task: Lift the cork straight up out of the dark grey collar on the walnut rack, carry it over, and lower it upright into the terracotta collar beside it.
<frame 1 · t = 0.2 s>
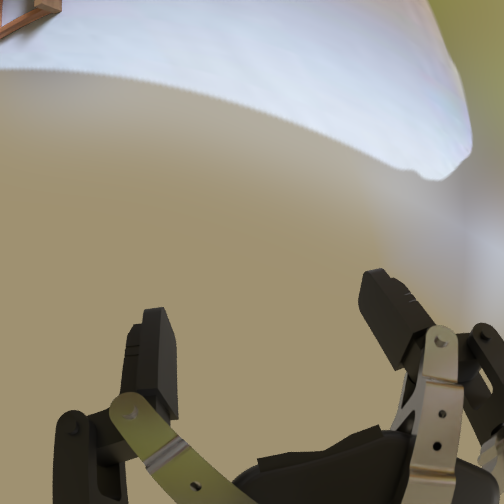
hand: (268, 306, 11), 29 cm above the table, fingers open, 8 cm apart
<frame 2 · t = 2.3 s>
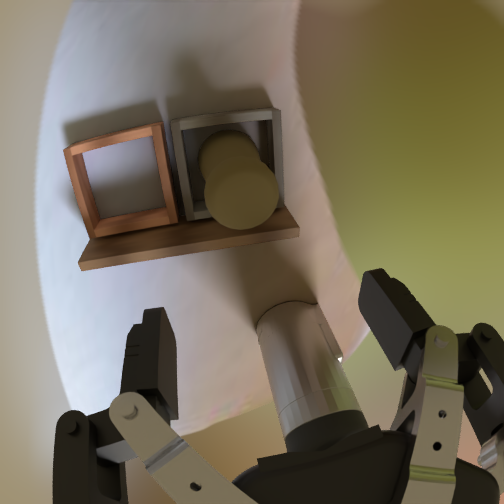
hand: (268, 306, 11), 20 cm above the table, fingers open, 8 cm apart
cork: (228, 158, 28), resting in shaker rack
shaker rack: (175, 167, 28), on the table
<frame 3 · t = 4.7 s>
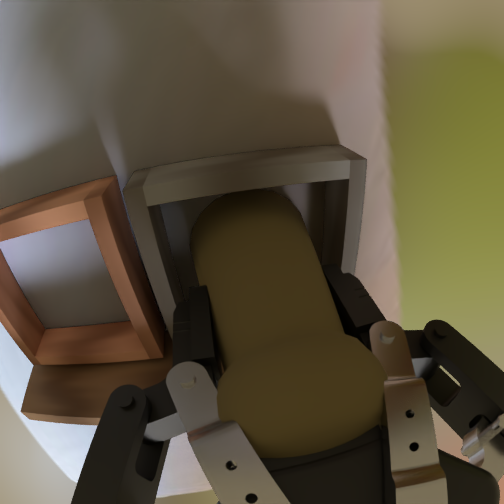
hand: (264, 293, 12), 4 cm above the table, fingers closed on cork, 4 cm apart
cork: (248, 242, 15), resting in shaker rack, touching gripper
shaker rack: (149, 261, 15), on the table
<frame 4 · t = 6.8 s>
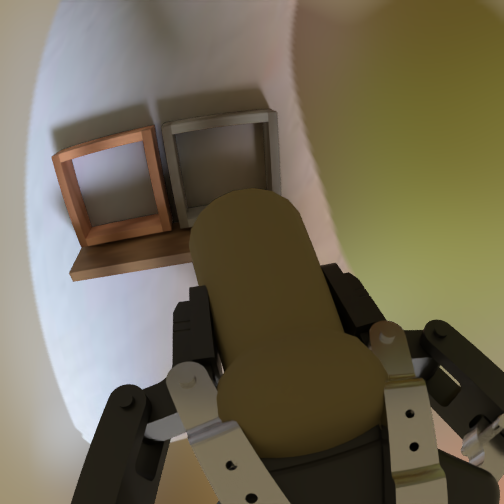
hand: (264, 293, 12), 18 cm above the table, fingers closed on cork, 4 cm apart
cork: (247, 241, 15), point 14 cm above the table, touching gripper
shaker rack: (167, 172, 26), on the table
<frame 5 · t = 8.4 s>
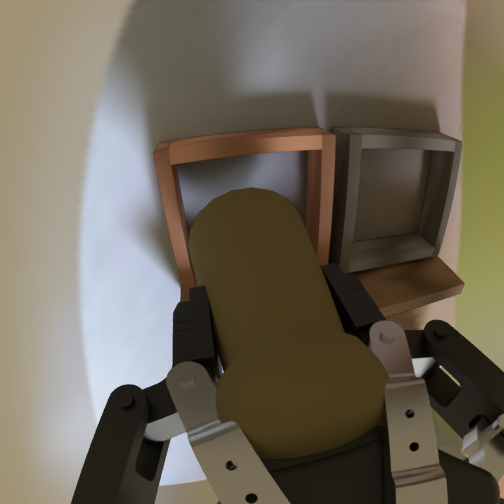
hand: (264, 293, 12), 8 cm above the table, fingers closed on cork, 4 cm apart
cork: (247, 241, 15), point 4 cm above the table, touching gripper
shaker rack: (323, 196, 20), on the table
when the fingers open (5 cm above the table, at t = 9.4 s): cork stays where it is, resting in shaker rack.
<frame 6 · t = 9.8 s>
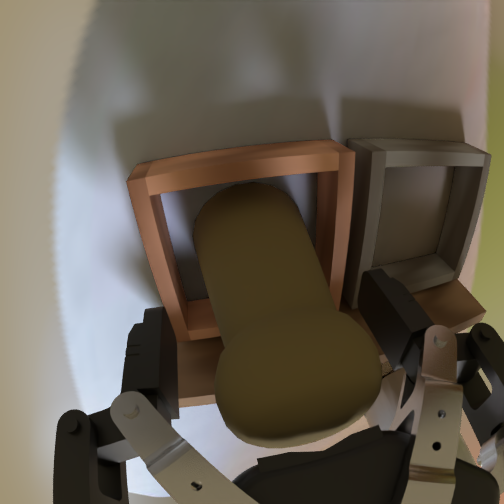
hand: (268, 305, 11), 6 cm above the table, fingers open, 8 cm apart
cork: (248, 233, 16), resting in shaker rack
shaker rack: (336, 221, 17), on the table
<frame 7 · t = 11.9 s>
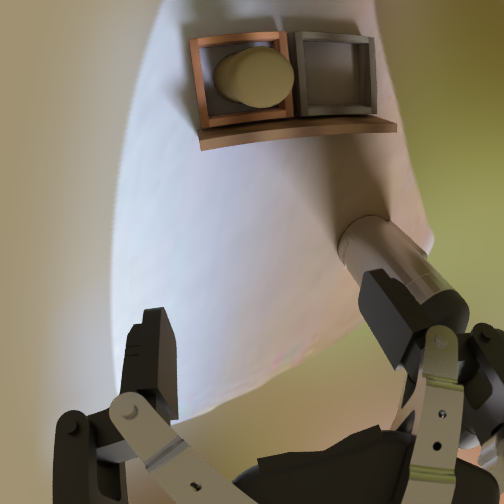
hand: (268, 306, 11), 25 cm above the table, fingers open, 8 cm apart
cork: (241, 77, 28), resting in shaker rack
shaker rack: (287, 73, 28), on the table
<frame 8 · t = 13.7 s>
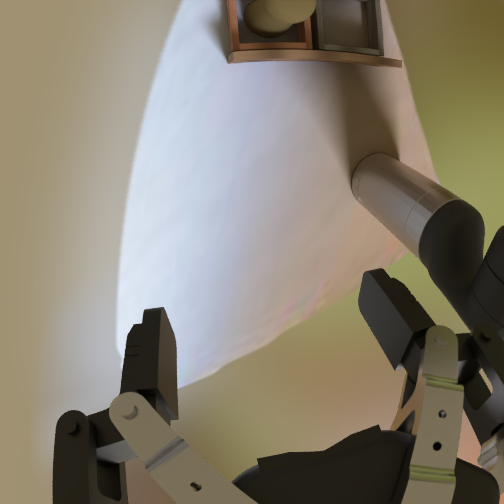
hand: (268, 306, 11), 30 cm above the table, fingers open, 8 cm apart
cork: (267, 17, 28), resting in shaker rack
shaker rack: (306, 18, 28), on the table
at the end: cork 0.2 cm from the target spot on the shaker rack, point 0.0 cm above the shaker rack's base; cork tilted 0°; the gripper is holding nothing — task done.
